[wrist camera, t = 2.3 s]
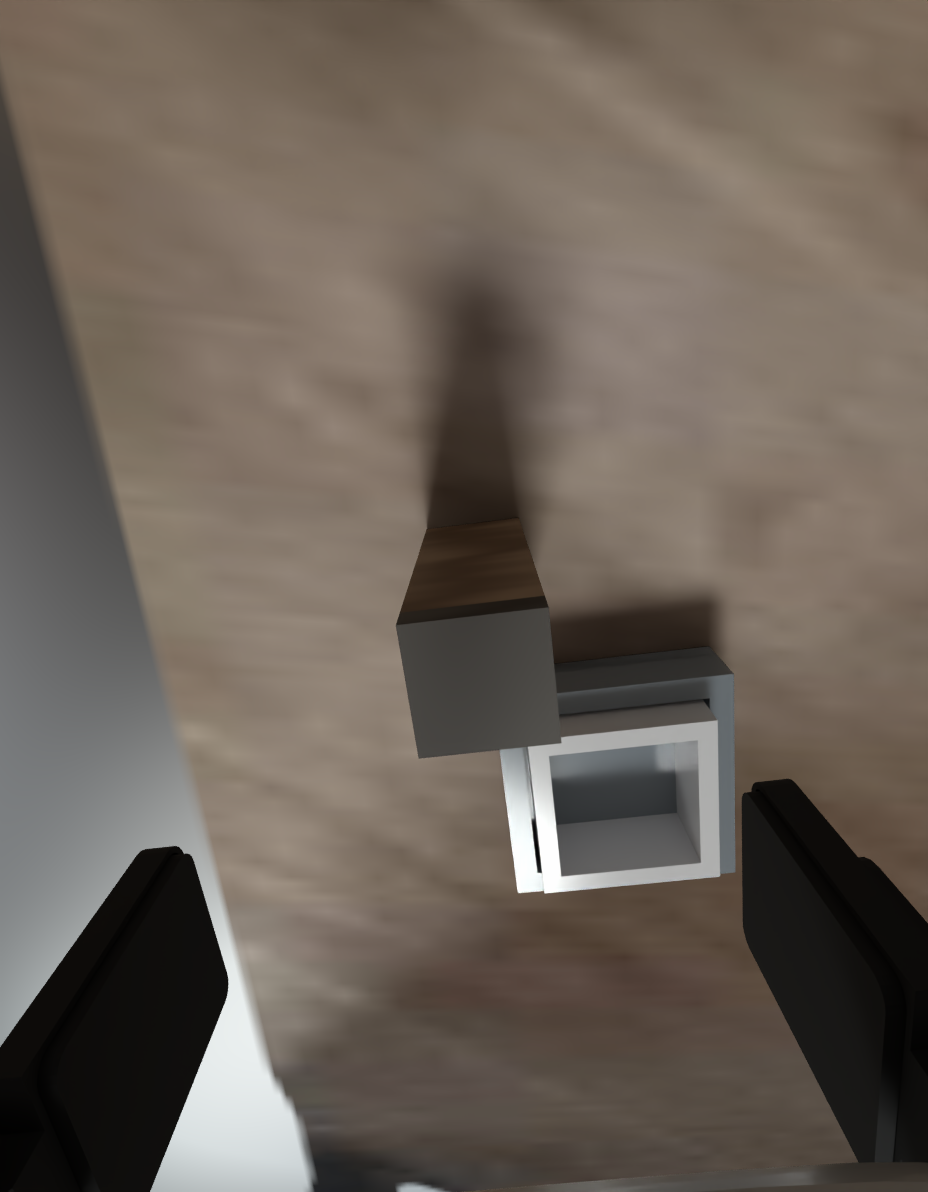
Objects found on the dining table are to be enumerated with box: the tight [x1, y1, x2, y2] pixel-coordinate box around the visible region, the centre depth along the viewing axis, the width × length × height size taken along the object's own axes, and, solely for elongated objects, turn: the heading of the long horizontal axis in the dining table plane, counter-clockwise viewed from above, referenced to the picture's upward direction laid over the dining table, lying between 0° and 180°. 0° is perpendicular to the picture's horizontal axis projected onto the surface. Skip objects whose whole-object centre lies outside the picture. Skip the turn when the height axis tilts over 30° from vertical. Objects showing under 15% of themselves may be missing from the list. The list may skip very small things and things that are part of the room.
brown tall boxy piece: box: [396, 518, 562, 758], centre depth 24 cm, size 4×4×12 cm
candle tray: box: [500, 646, 735, 893], centre depth 30 cm, size 10×10×4 cm
